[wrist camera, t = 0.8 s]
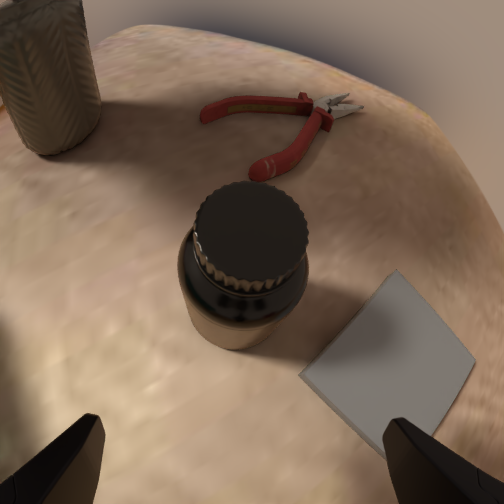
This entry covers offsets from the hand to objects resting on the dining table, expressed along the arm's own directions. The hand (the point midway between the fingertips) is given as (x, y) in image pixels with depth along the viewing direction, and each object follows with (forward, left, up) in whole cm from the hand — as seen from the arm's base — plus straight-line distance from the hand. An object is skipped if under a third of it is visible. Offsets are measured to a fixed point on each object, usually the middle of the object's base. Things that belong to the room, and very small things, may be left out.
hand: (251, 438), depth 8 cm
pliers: (+16, -24, -14) cm, 32 cm away
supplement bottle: (+6, -6, -14) cm, 16 cm away
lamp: (+34, -4, -14) cm, 36 cm away
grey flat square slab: (-7, -12, -13) cm, 19 cm away
